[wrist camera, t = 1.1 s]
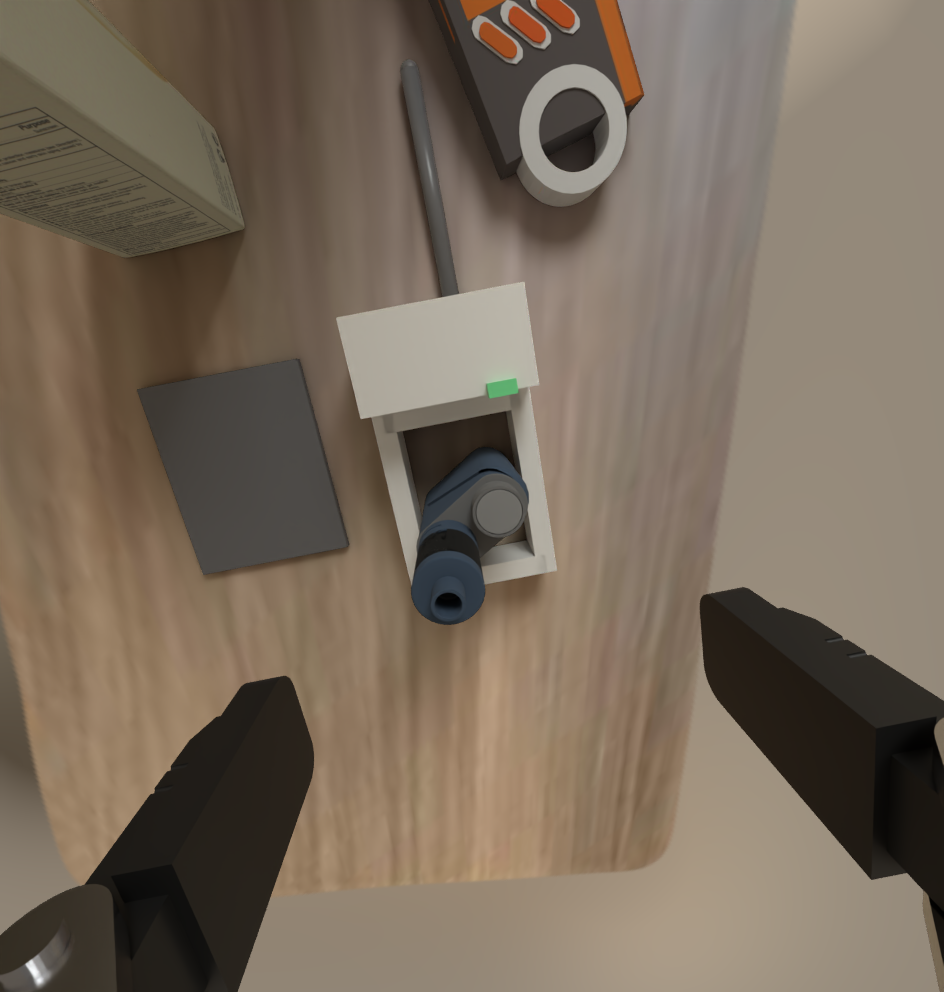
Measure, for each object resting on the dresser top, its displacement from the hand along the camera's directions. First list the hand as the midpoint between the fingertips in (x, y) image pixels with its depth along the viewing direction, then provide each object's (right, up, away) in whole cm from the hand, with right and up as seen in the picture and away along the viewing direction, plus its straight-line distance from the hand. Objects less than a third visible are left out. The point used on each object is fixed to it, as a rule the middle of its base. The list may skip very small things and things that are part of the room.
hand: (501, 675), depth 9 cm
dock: (-2, +11, +14) cm, 18 cm away
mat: (-12, +5, +15) cm, 20 cm away
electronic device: (+1, +24, +12) cm, 27 cm away
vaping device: (-1, +4, +16) cm, 17 cm away
